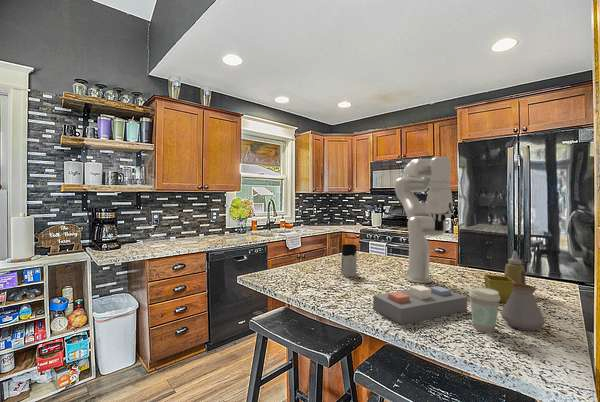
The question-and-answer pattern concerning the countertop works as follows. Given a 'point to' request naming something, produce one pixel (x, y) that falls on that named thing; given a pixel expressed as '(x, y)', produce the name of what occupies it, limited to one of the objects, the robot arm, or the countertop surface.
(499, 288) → the flower pot
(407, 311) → the console
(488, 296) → the coffee cup
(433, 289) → the key blue
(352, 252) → the glass holder
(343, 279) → the countertop surface
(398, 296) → the key red
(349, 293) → the countertop surface
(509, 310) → the coffee pot
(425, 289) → the key white
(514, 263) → the squeeze bottle
